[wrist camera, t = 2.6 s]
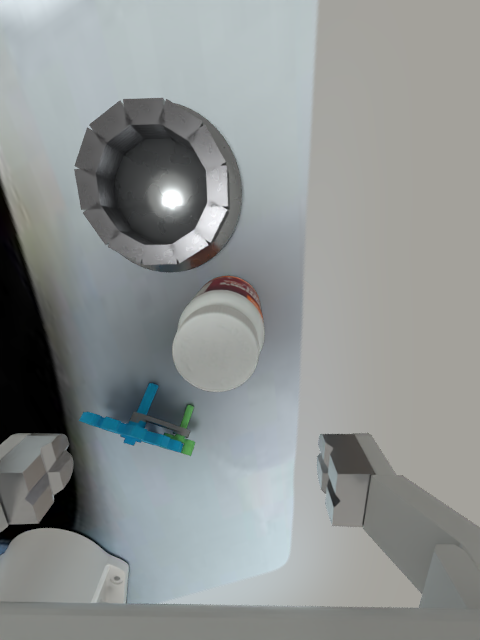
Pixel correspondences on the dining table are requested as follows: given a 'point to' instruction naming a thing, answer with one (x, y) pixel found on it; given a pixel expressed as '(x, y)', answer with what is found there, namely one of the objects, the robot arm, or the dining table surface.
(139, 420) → the gear
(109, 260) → the dining table surface
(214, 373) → the pill bottle
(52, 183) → the dining table surface
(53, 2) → the dining table surface
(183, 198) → the notched hollow ring
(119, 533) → the dining table surface
